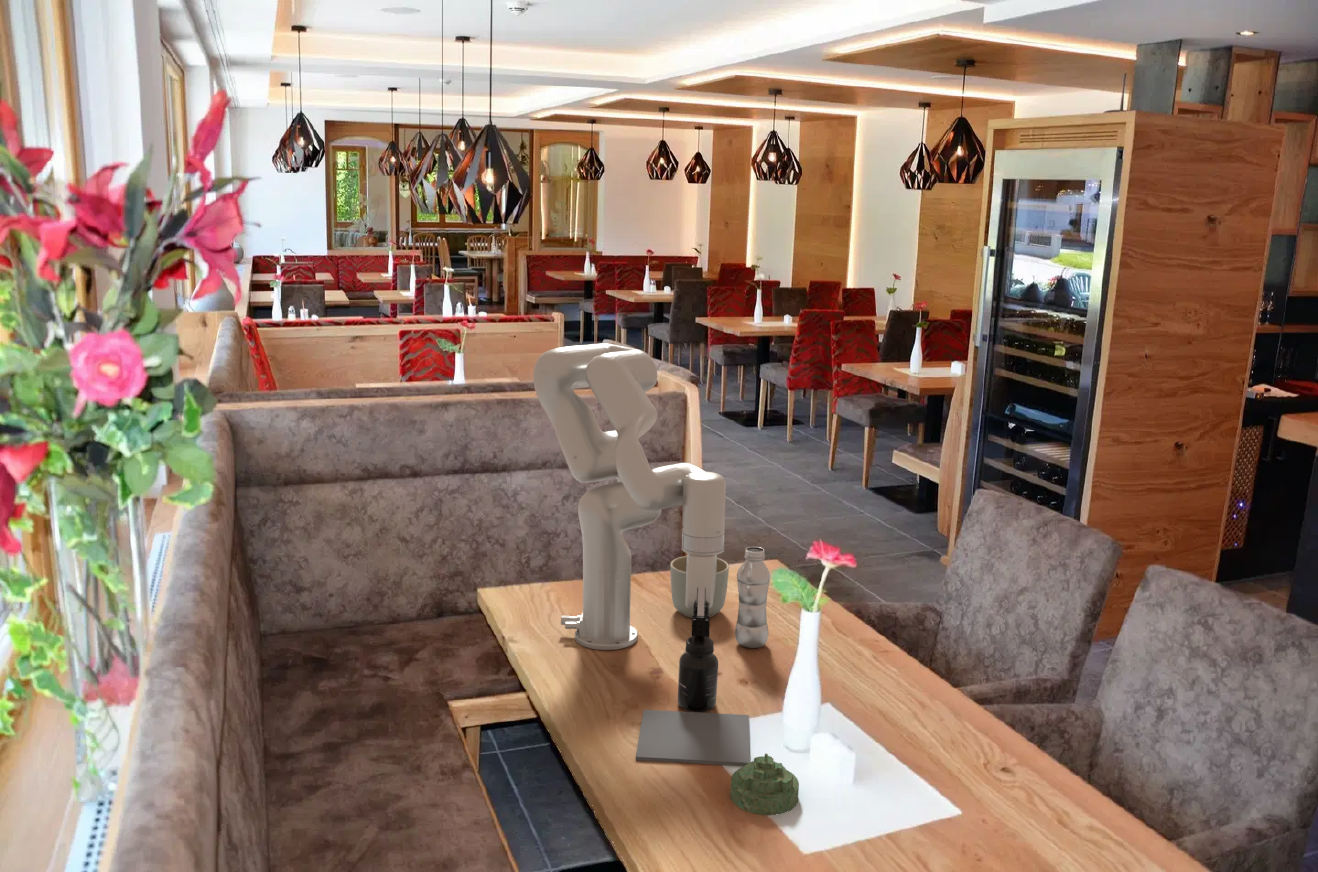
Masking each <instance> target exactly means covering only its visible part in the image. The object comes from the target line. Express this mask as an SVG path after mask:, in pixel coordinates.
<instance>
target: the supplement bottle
mask: <svg viewBox="0 0 1318 872" xmlns="http://www.w3.org/2000/svg"><path fill="white" fill-rule="evenodd" d="M714 645H715V644H714V640H713V639H712V638H711V637H709V638H708V637H705V636H692V637H691V636H689V637H688V638H687V639H686V641H685V648H684V649H685V652H683V653H682V654H681V655H680V658H679V661H678V679H677V680H678V681H677V682H678V683H677V684H678V685H677V704H678V706H679V707H680V708H682V709H683V710H684V711H686V712H701V713H708V712H709V711H711V710H713V709H714V708H715V707H716V704H717V697H718V694H717V693H718V679H719V678H718V676H719V660H718V657H717V656H716V655H715V653H714V652H715V646H714Z"/></svg>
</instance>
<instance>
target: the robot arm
mask: <svg viewBox="0 0 1318 872" xmlns="http://www.w3.org/2000/svg"><path fill="white" fill-rule="evenodd" d="M532 377H533V386H534V390H535V395H536V396H537V397H536V398H537V399H538V401H539V403H540V405H541V407H542V408H543V411H544V412H545V413H546V416H547V417H548V419H549V421H550V422H551V424H552V427H553V429H554V432H555V436H556V439H557V441H558V443H559V446H560V449H561V451H562V454H563V456H564V459H565V462H566V465H567V466H568V469H569V471H570V474H571V475H572V477H573V478H574V479H575V480H576V481H577V482H579V483H584V484H587V483H595V482H601V481H605V480H612V479H616V480H617V482H612V483H609V484H604V485H603V484H602V485H599V486H596V487H592V488H591V489H588V490H587V491H586V492H585V493H584V494H583V495H582V496H581V498H580V499H579V501H578V504H577V505H578V506H577V514H578V520H579V525H580V532H581V538H582V612H581V614H577V615H576V616H571V615H563V614H562V615H561V617H560V625H561V626H564V629H565V630H575V631H574V639H575V641H576V643H577V644H579V645H580V646H582V647H585V648H588V649H592V650H598V651H615V650H620V649H624V648H628V647H630V646H632V645H633V644H635V643H636V642H637V641H638V634H639V633H638V630H637V629H636V628H635V627H634V626H633V625H631V599H632V597H631V595H632V593H631V592H632V591H631V588H632V585H631V584H632V582H631V581H632V554H631V553H632V552H631V549H630V546H629V545H628V543H627V542H626V540H625V538H624V535H623V532H625V531H628V530H631V529H636V528H640V527H643V526H648V525H650V524H652V523H654V522H655V521H657V520H658V519H659V517H660V516H661V513H662V510H664V509H665V510H666V509H668V508H674V507H679V506H680V507H681V506H682V523H681V527H682V529H681V531H682V532H681V550H682V551H683V552H684V553H685V554H686V556H687V565H686V601H685V606H686V607H687V608H689V607H692V606H693V616H692V618H691V636H690V637H692V636H705V637H708V638H710V626H711V625H710V624H711V623H710V621H711V620H710V619H711V617H709V616H708V614H709V609H710V608H712V606H713V599H714V592H715V582H716V566H717V558H718V555H720V554H722V553H724V552H725V527H726V526H725V525H726V524H725V523H726V522H725V521H726V498H727V497H726V494H727V483H726V479H725V477H724V476H723V475H721V474H719V473H716V472H714V471H713V472H712V471H706V470H705V469H702V468H700V467H699V466H697V465H695V464H693V463H689V462H677V463H675V464H668V465H663V466H658V467H653V468H651V466H650V464H649V461H648V458H647V456H646V454H645V451H644V449H643V447H642V444H641V443H640V441H639V439H640V438H641V437H642V436H644V435H645V434H646V433H648V431H650V430H651V429H652V427H653V426H654V425H655V423H656V421H657V419H658V411H657V408H656V407H655V406H654V404H653V403H652V401H651V399H650V398H649V396H648V395H647V392H649V391H651V390H652V389H653V388H654V387H655V385H656V384H657V381H658V369H657V365H656V362H655V361H654V360H653V358H652V357H651V356H650V355H649V354H648V353H647V352H646V351H644V350H641V349H637V348H632V347H627V346H621V345H616V344H611V343H591V344H581V345H570V346H561V347H555V348H552V349H549V350H547V351H545V352H544V353H542V354H541V355H540V356H539V357H538V358H537V360H536V362H535V363H534V368H533V375H532ZM583 388H590V390H591V391H592V393H593V395H594V396H595V398H596V400H597V402H598V404H599V406H600V407H601V408H602V410H603V412H604V414H605V416H606V417H607V418H608V420H609V422H610V424H611V426H612V427H613V429H614V430H607V431H603V430H602V429H601V427H600V425H599V423H598V422H597V421H598V420H597V418H596V416H595V413H594V411H593V409H592V407H591V406H590V405H589V404H588V403H587V402H586V401H585V400H584V399H583V398H582V397H581V396H579V395H578V394H577V393H576V392H575V389H583ZM705 615H706V616H705Z"/></svg>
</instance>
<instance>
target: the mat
mask: <svg viewBox="0 0 1318 872" xmlns="http://www.w3.org/2000/svg"><path fill="white" fill-rule="evenodd" d="M641 717H642V718H641V723H640V729H639V735H638V741H637V747H636V753H635V761H642V762H643V761H644V762H662V763H663V762H664V763H681V764H701V765H714V766H715V765H717V766H718V765H719V766H734V765H738V766H739V767H744V766H745V765H746V764H748V763H750V762H751V746H750V745H751V743H750V739H751V738H750V719H749V718H750V714H737V713H720V712H719V713H718V712H717V713H716V712H690V711H680V710H679V711H676V710H659V709H643V711H642V716H641ZM738 766H737V767H738Z"/></svg>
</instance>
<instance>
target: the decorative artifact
mask: <svg viewBox="0 0 1318 872" xmlns="http://www.w3.org/2000/svg"><path fill="white" fill-rule="evenodd" d="M799 787H800V782H799V779H798V778H797V776H796V775H795V774H794V773H792V772H791V771H790V770H788V769H787V768H786V767H785V766H784V765H783V763H782V762H776V761H775V760H774V758H773V757H772V756H771V755H769V754H768V753H764V755H762V756H756V757H753V761H750V763H748V764H746V765H745V766H741V767H739V768H738V769H736V770H735V771H734V772H733V773H732V775H731V778H730V798H731V799H730V800H731V801H732V802H733V803H734V804H735V805H736V806H737V807H738V808H739V809H741V810H744V811H745V812H749V813H751V814H756V815H761V816H776V814H778V815H782V813H783V814H785V812H786V813H788V812H790V811H791V810H793V809H794V808H795V807H796V806H797V804H798V803H799V789H800V788H799ZM797 802H798V803H797ZM787 811H788V812H787Z"/></svg>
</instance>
